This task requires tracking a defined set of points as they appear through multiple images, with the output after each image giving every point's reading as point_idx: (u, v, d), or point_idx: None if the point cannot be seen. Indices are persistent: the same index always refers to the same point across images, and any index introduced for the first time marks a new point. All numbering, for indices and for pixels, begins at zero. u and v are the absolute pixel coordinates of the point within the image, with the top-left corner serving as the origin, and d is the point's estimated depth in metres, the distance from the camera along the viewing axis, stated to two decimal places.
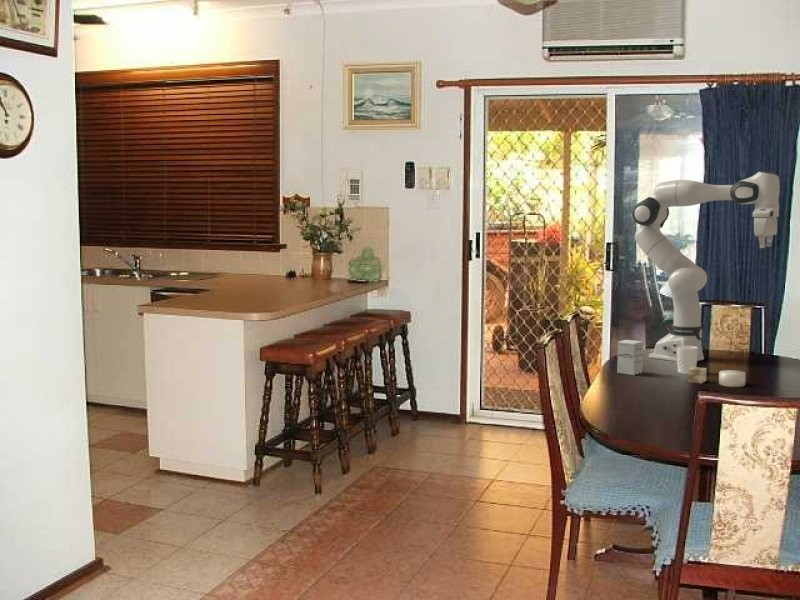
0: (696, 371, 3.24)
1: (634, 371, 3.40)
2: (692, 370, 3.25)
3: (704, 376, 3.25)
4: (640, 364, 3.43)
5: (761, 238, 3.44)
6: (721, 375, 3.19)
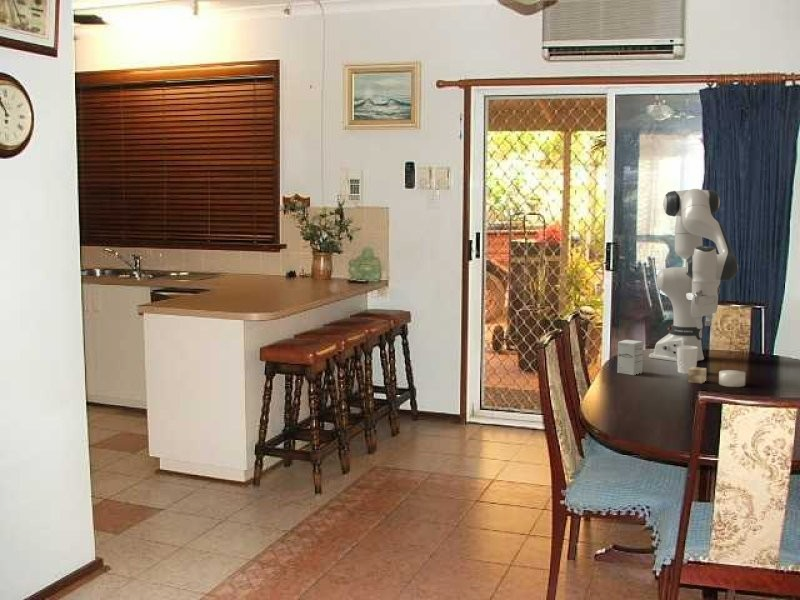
0: (696, 371, 3.24)
1: (634, 371, 3.40)
2: (692, 370, 3.25)
3: (704, 376, 3.25)
4: (640, 364, 3.43)
5: None
6: (721, 375, 3.19)
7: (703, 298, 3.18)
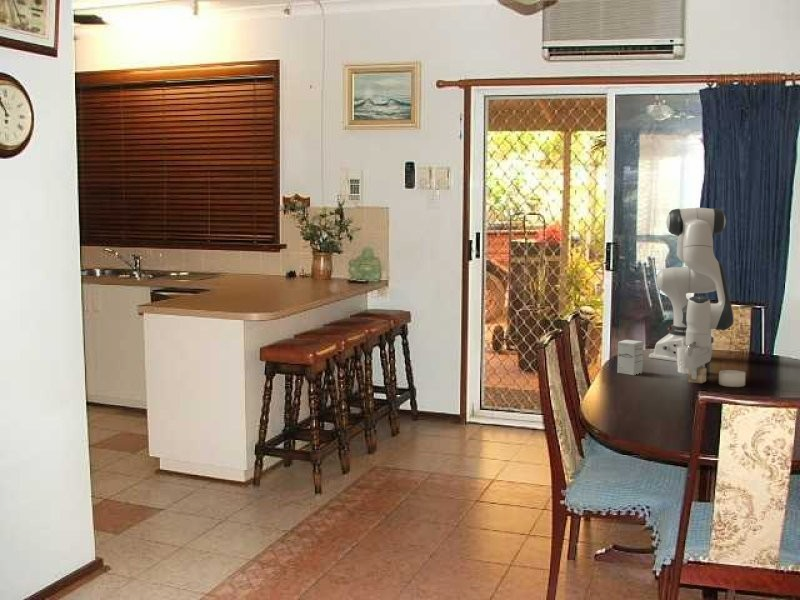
0: None
1: (634, 371, 3.40)
2: None
3: (704, 376, 3.25)
4: (640, 364, 3.43)
5: None
6: (721, 375, 3.19)
7: (696, 350, 3.18)
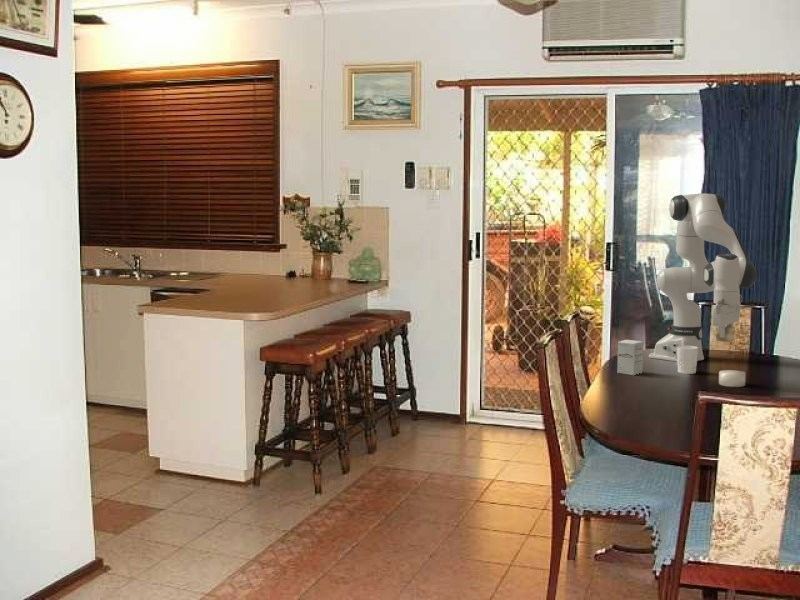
0: None
1: (634, 371, 3.40)
2: None
3: (732, 335, 3.19)
4: (640, 364, 3.43)
5: None
6: (721, 375, 3.19)
7: (725, 307, 3.12)
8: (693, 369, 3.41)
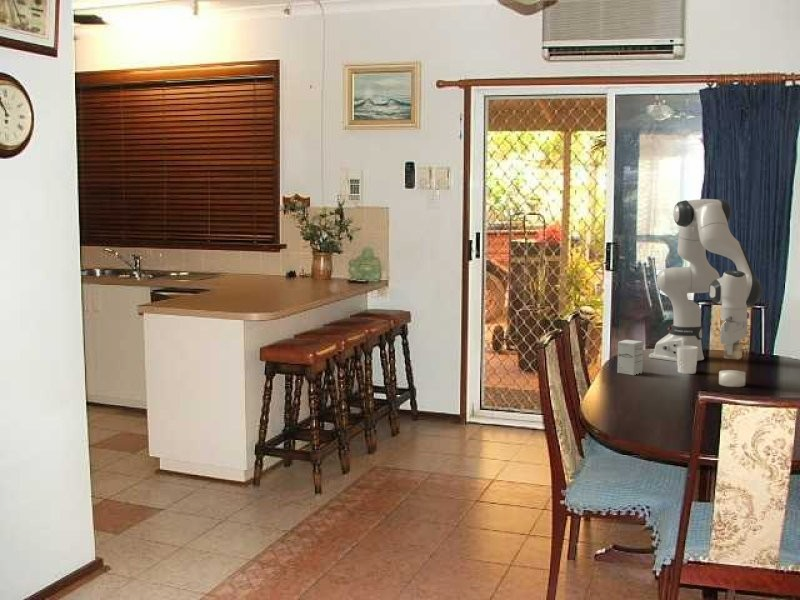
0: None
1: (634, 371, 3.40)
2: None
3: (740, 352, 3.18)
4: (640, 364, 3.43)
5: None
6: (721, 375, 3.19)
7: (732, 324, 3.12)
8: (693, 369, 3.41)
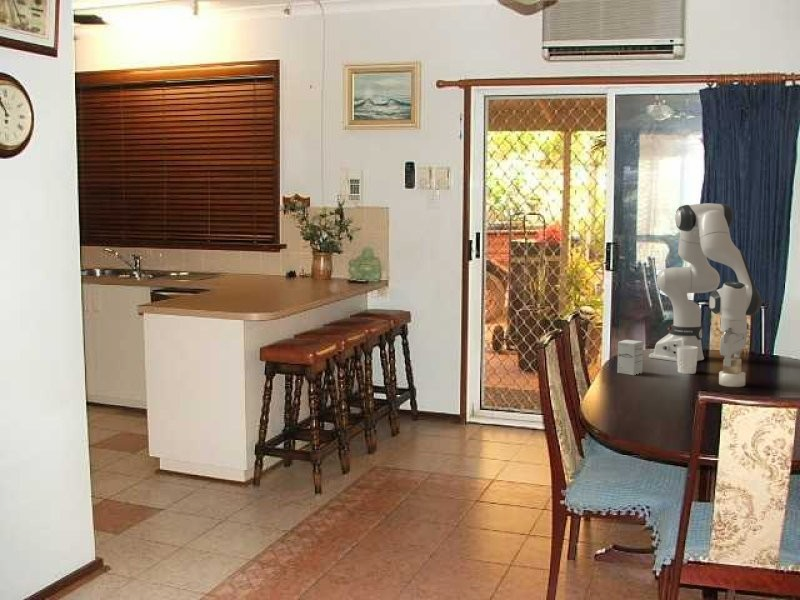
0: None
1: (634, 371, 3.40)
2: None
3: (739, 367, 3.19)
4: (640, 364, 3.43)
5: None
6: (721, 375, 3.20)
7: (732, 336, 3.12)
8: (693, 369, 3.41)
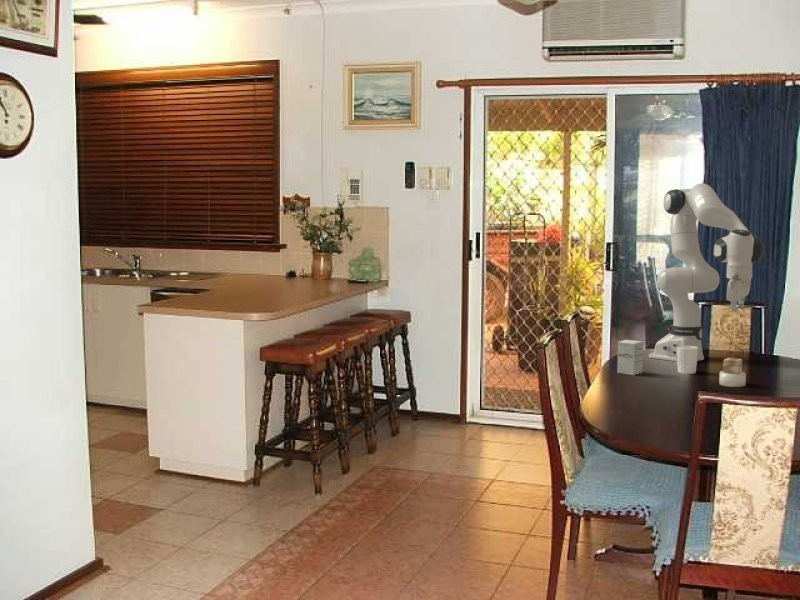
0: (731, 362, 3.18)
1: (634, 371, 3.40)
2: (727, 361, 3.19)
3: (739, 367, 3.19)
4: (640, 364, 3.43)
5: None
6: (721, 375, 3.20)
7: (739, 282, 3.21)
8: (693, 369, 3.41)
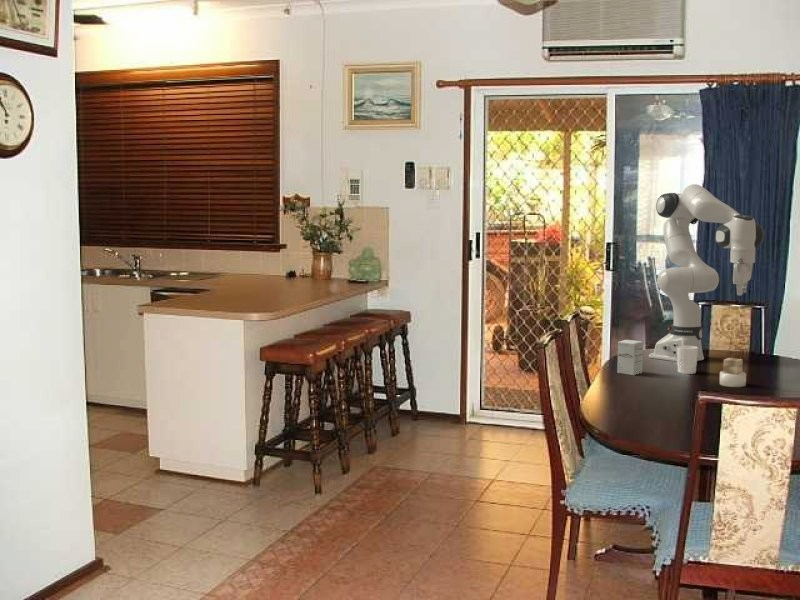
0: (731, 362, 3.18)
1: (634, 371, 3.40)
2: (727, 361, 3.19)
3: (740, 367, 3.19)
4: (640, 364, 3.43)
5: None
6: (721, 375, 3.20)
7: (744, 265, 3.27)
8: (693, 369, 3.41)
